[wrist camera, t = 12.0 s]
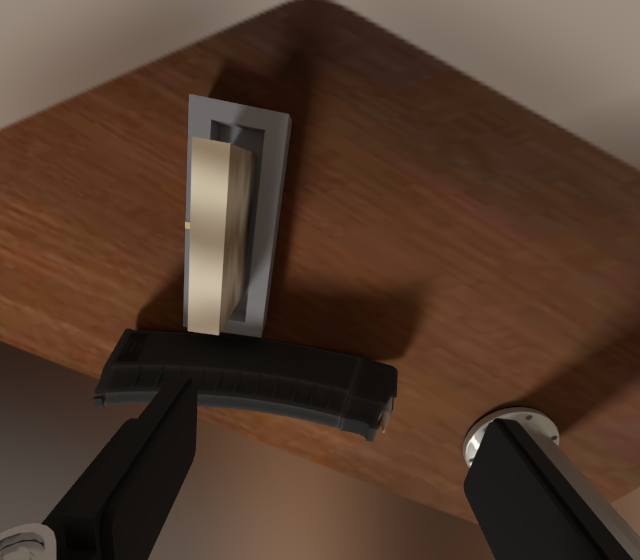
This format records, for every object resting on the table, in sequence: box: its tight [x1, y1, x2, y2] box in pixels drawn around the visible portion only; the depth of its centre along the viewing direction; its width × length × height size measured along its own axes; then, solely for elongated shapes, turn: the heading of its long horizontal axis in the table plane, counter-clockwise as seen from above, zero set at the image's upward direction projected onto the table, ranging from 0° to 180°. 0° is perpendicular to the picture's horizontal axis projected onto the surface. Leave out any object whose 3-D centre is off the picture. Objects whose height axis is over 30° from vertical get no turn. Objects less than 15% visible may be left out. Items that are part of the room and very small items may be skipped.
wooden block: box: [188, 137, 256, 335], centre depth 25 cm, size 14×3×9 cm, turn 170°
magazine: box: [93, 329, 398, 442], centre depth 30 cm, size 17×3×30 cm
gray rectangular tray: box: [183, 94, 292, 338], centre depth 29 cm, size 21×8×4 cm, turn 170°
